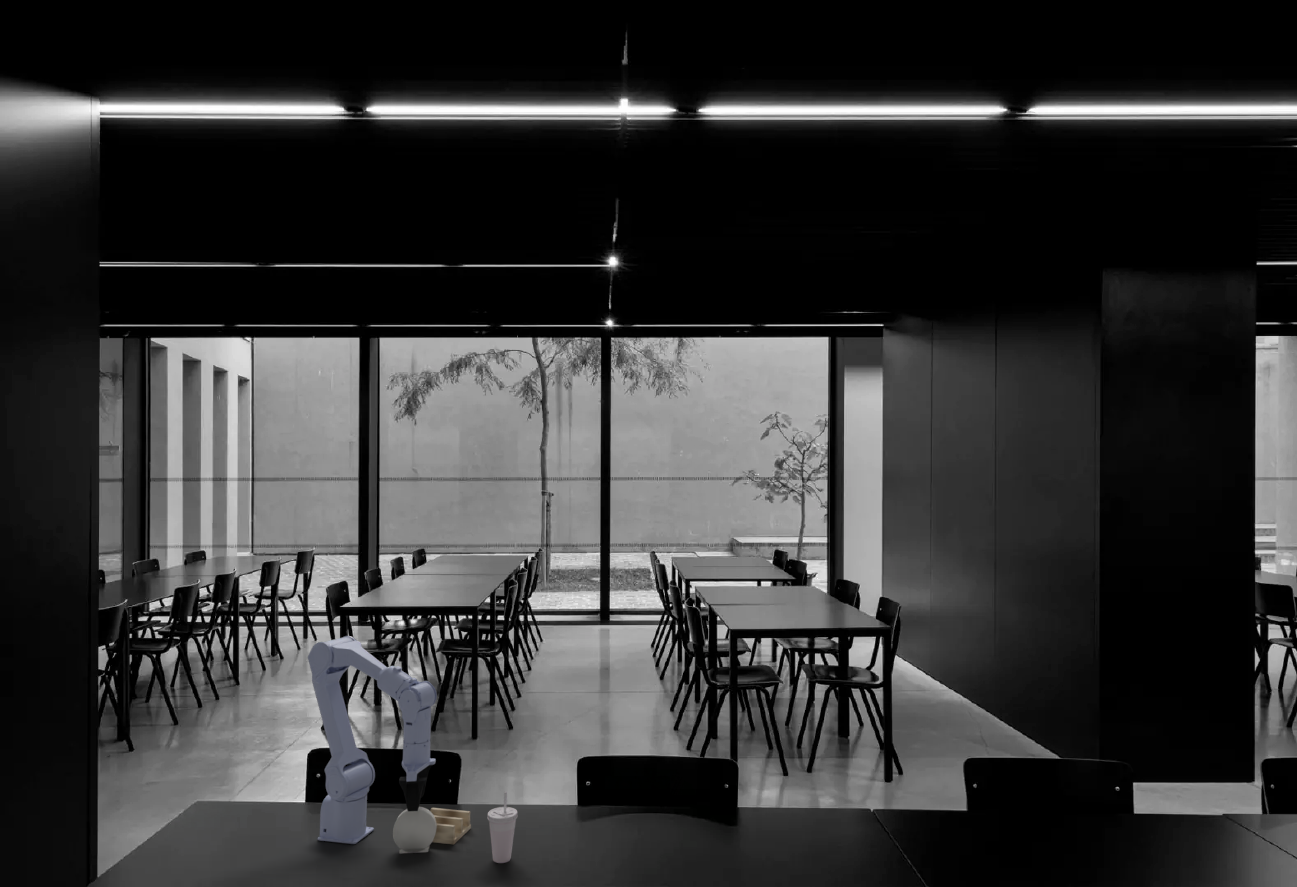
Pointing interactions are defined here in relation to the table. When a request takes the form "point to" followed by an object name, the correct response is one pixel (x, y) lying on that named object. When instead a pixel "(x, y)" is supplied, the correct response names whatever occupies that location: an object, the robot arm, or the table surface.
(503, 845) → the smoothie
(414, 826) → the plate
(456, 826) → the rack
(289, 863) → the table surface
